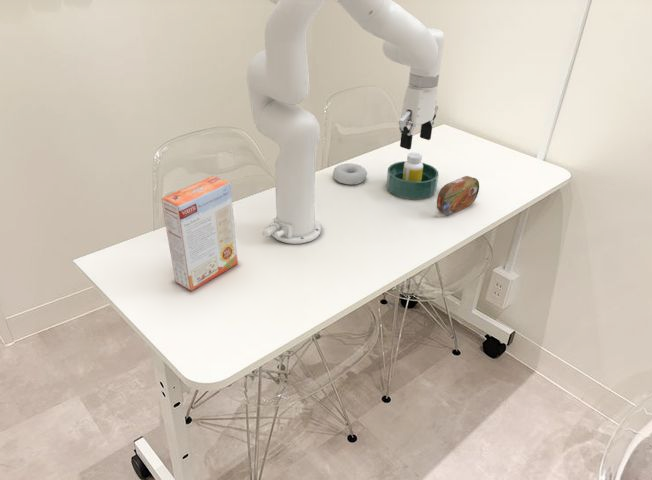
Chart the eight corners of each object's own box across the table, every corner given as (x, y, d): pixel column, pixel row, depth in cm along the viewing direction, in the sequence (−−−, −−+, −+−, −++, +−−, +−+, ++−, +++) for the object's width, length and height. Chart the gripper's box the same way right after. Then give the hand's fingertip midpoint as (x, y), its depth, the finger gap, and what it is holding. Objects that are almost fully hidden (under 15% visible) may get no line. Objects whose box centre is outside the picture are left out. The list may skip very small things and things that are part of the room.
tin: (441, 219, 154) (445, 190, 149) (432, 214, 156) (436, 186, 151) (477, 203, 162) (482, 175, 157) (468, 198, 164) (473, 171, 159)
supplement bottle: (424, 187, 168) (428, 155, 162) (412, 193, 165) (416, 161, 159) (409, 181, 171) (413, 149, 165) (397, 186, 168) (401, 155, 162)
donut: (332, 186, 169) (367, 186, 169) (332, 175, 167) (367, 175, 167) (333, 171, 177) (366, 172, 177) (333, 161, 175) (366, 161, 175)
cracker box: (220, 255, 137) (213, 173, 125) (238, 265, 134) (232, 182, 122) (172, 281, 128) (159, 196, 116) (190, 292, 125) (179, 206, 113)
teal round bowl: (427, 204, 160) (429, 186, 157) (378, 193, 165) (380, 175, 162) (441, 184, 171) (444, 167, 168) (396, 174, 176) (397, 157, 173)
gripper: (429, 71, 158) (421, 131, 168) (392, 83, 147) (385, 148, 156) (453, 77, 154) (443, 138, 164) (417, 90, 143) (409, 155, 153)
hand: (415, 143), depth 160 cm, fingers open, 9 cm apart
